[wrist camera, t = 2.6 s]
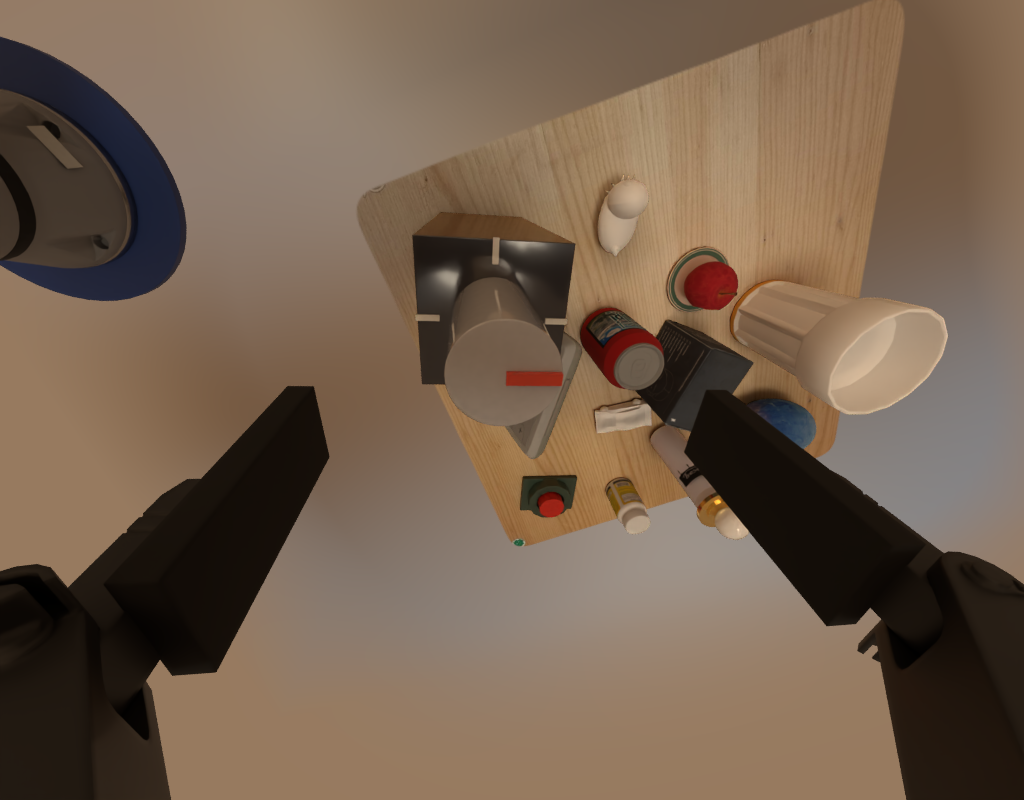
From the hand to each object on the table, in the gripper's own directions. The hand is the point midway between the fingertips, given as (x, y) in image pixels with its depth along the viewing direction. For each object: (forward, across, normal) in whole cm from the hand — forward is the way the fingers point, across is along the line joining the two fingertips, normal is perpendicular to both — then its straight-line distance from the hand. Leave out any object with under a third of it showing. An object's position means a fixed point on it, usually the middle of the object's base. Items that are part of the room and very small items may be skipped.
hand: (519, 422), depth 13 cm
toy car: (+36, +21, -21) cm, 47 cm away
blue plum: (+36, +42, -21) cm, 59 cm away
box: (+36, +26, -12) cm, 46 cm away
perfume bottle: (+36, +29, -25) cm, 53 cm away
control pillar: (+35, 0, 0) cm, 35 cm away
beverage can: (+36, +16, -8) cm, 40 cm away
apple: (+36, +27, -1) cm, 45 cm away
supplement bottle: (+36, +24, -36) cm, 56 cm away
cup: (+36, +38, -5) cm, 53 cm away
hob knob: (+11, 0, 0) cm, 11 cm away
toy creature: (+36, +15, +5) cm, 39 cm away
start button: (+33, +12, -37) cm, 51 cm away
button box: (+36, +12, -37) cm, 52 cm away
